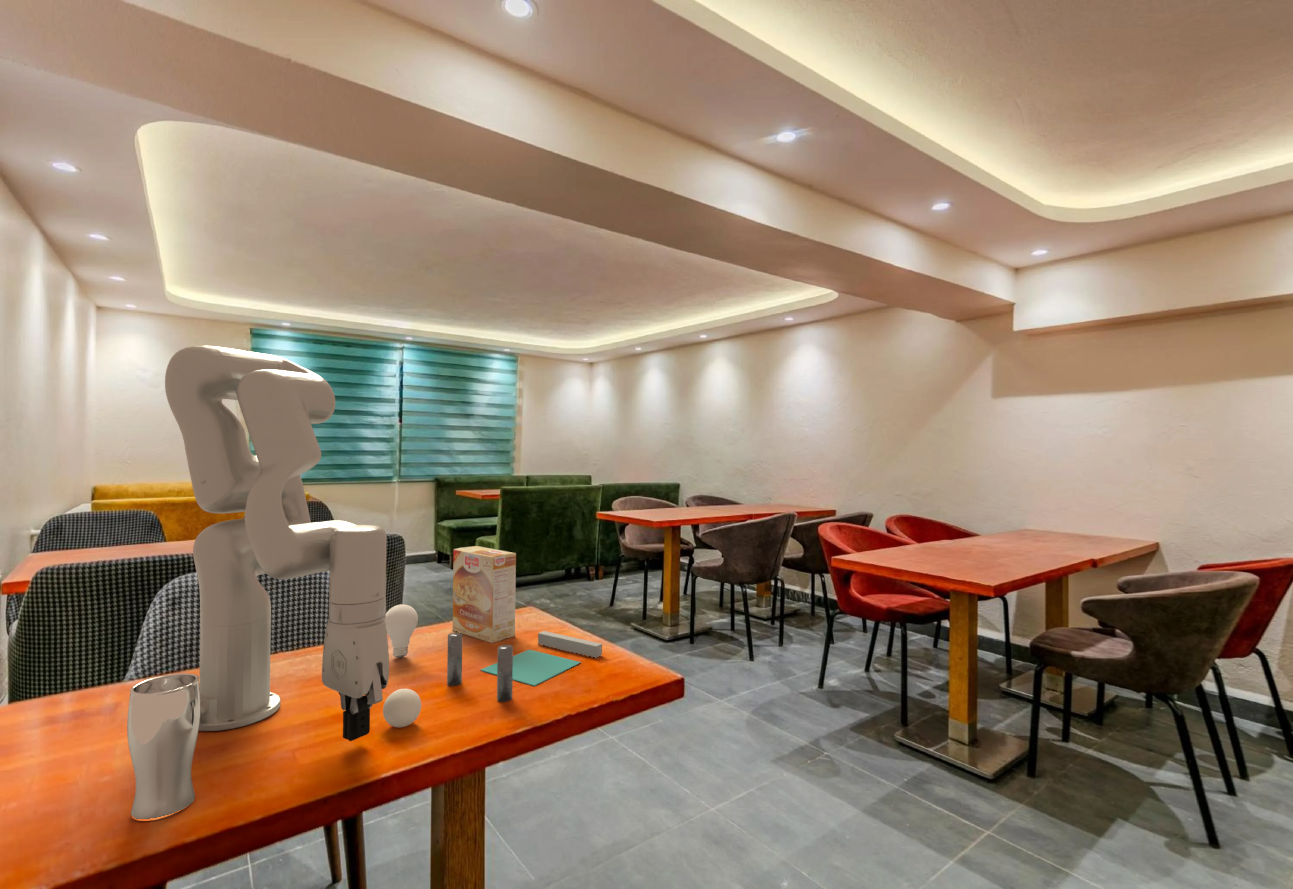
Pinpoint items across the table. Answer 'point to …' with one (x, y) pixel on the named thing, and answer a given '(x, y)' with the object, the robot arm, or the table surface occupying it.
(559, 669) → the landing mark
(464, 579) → the coffeecake box
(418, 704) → the ball
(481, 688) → the table surface
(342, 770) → the table surface
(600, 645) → the stopper wall
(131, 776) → the table surface
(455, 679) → the left post
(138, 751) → the beer glass
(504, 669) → the right post
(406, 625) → the light bulb
